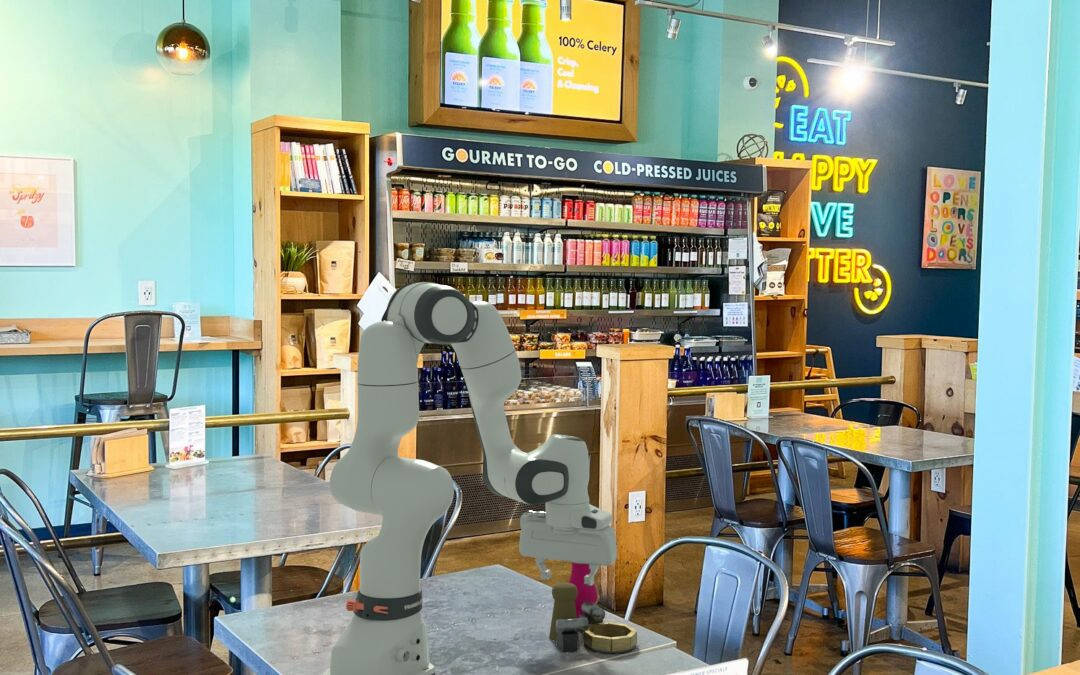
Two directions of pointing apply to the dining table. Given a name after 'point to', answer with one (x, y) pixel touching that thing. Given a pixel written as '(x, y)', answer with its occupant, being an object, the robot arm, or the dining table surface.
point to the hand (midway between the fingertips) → (567, 581)
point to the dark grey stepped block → (570, 633)
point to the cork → (563, 605)
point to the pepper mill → (582, 586)
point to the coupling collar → (610, 638)
